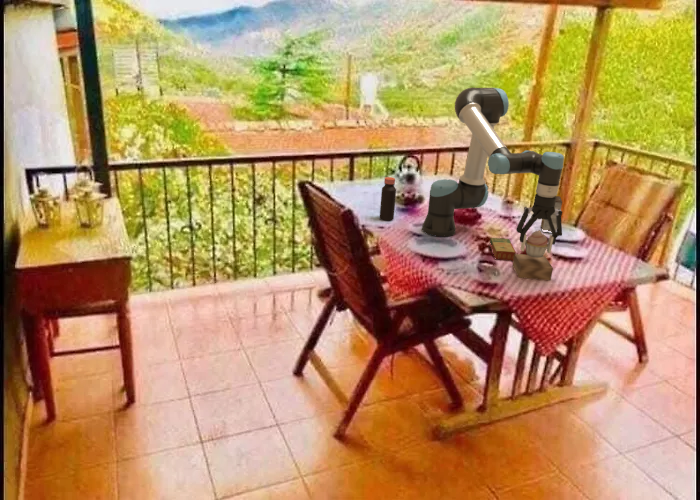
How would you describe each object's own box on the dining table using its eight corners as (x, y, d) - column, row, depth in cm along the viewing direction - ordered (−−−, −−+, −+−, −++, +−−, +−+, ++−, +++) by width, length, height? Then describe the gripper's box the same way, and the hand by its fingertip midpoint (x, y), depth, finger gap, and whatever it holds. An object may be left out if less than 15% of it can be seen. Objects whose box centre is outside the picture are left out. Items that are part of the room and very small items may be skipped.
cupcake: (551, 255, 218) (556, 231, 214) (540, 261, 211) (545, 236, 208) (529, 248, 224) (533, 224, 220) (517, 254, 217) (522, 229, 214)
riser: (518, 277, 215) (520, 265, 213) (512, 265, 226) (514, 253, 224) (550, 280, 215) (553, 268, 213) (542, 267, 226) (545, 256, 224)
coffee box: (540, 226, 273) (546, 194, 267) (553, 228, 272) (560, 196, 266) (542, 232, 265) (548, 200, 259) (556, 234, 264) (563, 201, 258)
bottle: (388, 222, 267) (392, 181, 259) (376, 218, 270) (379, 178, 263) (396, 219, 272) (399, 178, 264) (384, 215, 275) (387, 175, 268)
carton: (494, 260, 232) (496, 250, 230) (488, 245, 246) (490, 236, 245) (515, 261, 231) (516, 251, 229) (507, 247, 246) (509, 238, 244)
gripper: (518, 195, 206) (508, 252, 214) (579, 199, 205) (567, 256, 213) (514, 189, 213) (504, 245, 221) (573, 194, 212) (561, 249, 220)
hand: (535, 250), depth 217 cm, fingers closed on cupcake, 9 cm apart
